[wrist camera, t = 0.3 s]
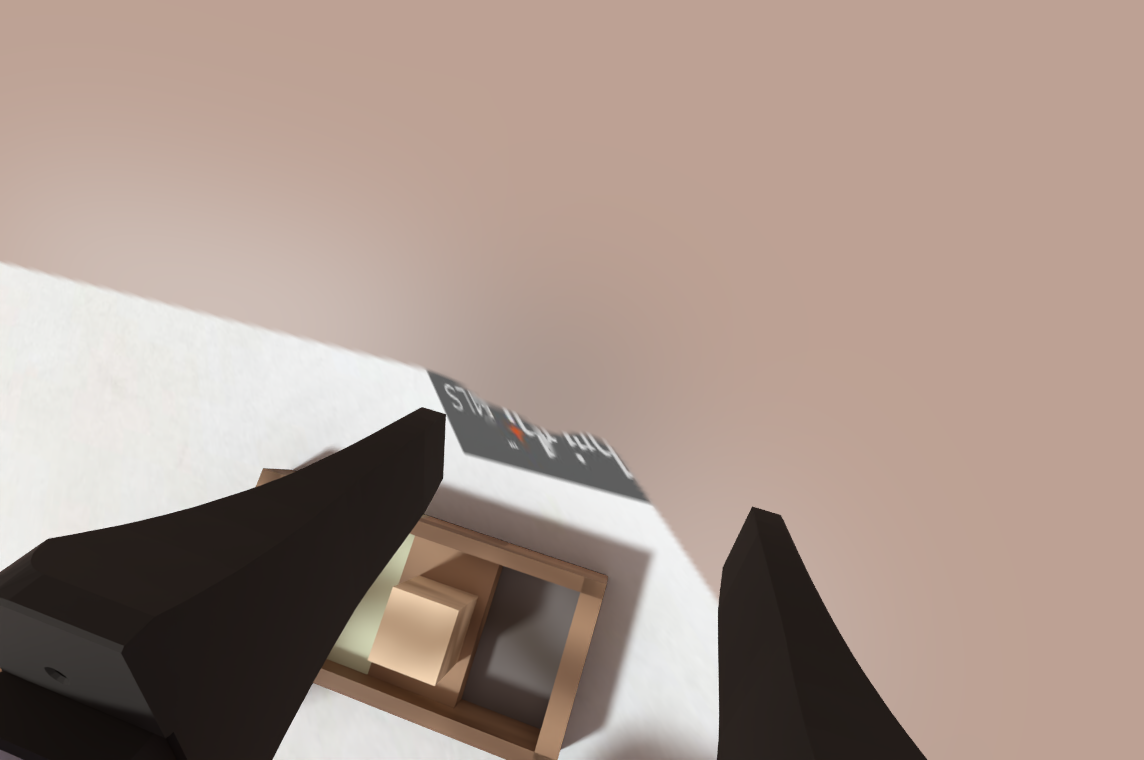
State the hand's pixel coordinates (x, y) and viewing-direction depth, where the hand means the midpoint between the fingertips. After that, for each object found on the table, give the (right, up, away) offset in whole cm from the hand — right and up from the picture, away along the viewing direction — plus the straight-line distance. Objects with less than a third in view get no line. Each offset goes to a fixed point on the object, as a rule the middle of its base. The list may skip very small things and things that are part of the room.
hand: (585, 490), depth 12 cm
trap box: (-12, -14, +28) cm, 33 cm away
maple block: (-10, -14, +25) cm, 30 cm away
